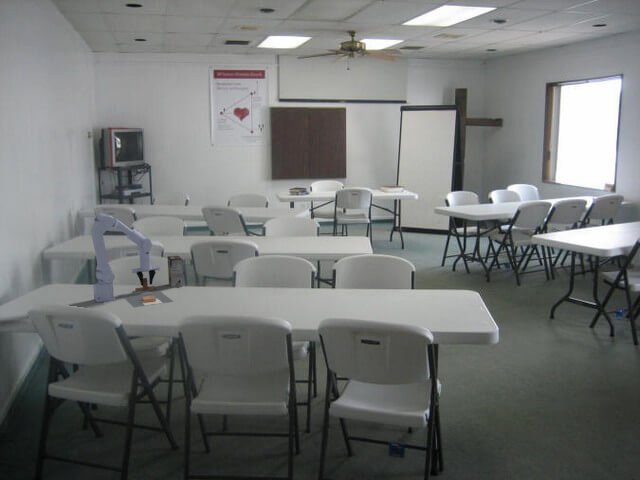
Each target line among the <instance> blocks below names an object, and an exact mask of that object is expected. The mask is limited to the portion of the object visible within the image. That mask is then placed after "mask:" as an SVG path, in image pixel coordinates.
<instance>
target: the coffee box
mask: <svg viewBox="0 0 640 480" xmlns="http://www.w3.org/2000/svg"><path fill="white" fill-rule="evenodd" d="M167 271H168V284H169V286H171V288H172V287H173V288H174V287H175V288H179V287H180V288H181V287H184V284H183V282H184V279H183V278H184V277H183V258H182V257H181V256H179V255H169V256H168V255H167Z"/></svg>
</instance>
